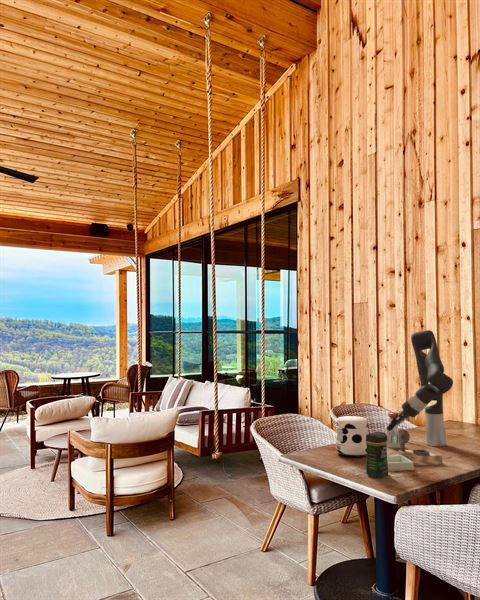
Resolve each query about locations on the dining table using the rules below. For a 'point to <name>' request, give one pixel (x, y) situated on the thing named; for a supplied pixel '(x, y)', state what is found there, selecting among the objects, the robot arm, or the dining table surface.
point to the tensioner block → (417, 452)
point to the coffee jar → (376, 454)
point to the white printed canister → (352, 436)
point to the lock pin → (395, 430)
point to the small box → (389, 444)
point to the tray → (399, 463)
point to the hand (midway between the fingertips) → (389, 428)
